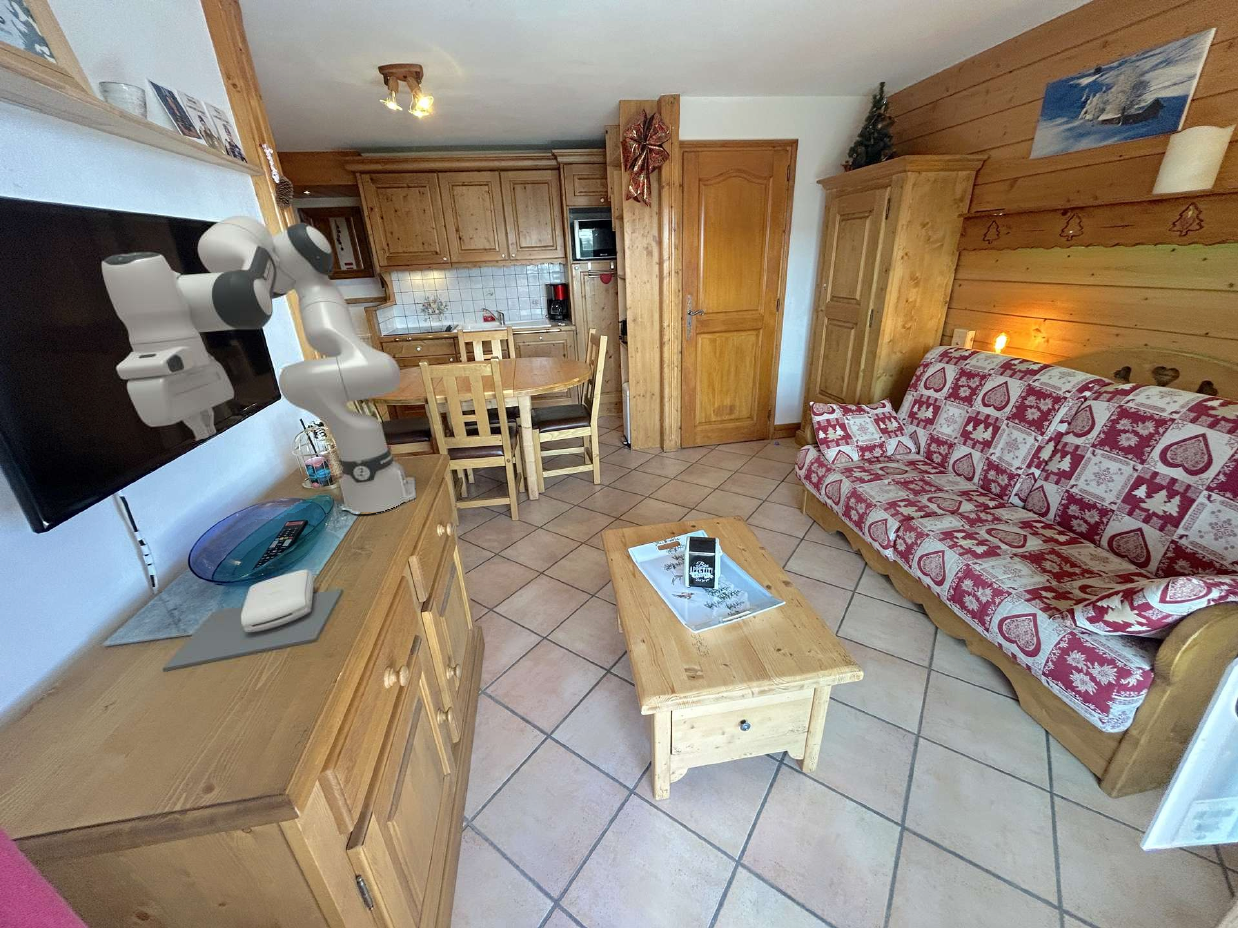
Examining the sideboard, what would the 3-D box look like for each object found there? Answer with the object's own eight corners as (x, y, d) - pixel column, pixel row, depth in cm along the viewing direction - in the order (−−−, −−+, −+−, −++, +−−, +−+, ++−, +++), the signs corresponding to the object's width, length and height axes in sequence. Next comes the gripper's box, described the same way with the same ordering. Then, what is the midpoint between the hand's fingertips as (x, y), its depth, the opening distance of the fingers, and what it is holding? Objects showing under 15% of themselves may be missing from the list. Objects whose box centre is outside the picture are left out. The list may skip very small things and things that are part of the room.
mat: (214, 614, 88) (212, 612, 87) (343, 591, 91) (342, 588, 91) (163, 671, 75) (162, 668, 74) (316, 641, 78) (315, 638, 78)
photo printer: (311, 565, 92) (306, 598, 81) (318, 583, 93) (314, 619, 83) (246, 583, 87) (232, 621, 77) (255, 603, 89) (242, 642, 79)
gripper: (190, 351, 89) (219, 422, 94) (106, 370, 70) (148, 458, 76) (228, 347, 90) (254, 418, 95) (155, 365, 71) (193, 452, 77)
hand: (207, 436), depth 85 cm, fingers closed
